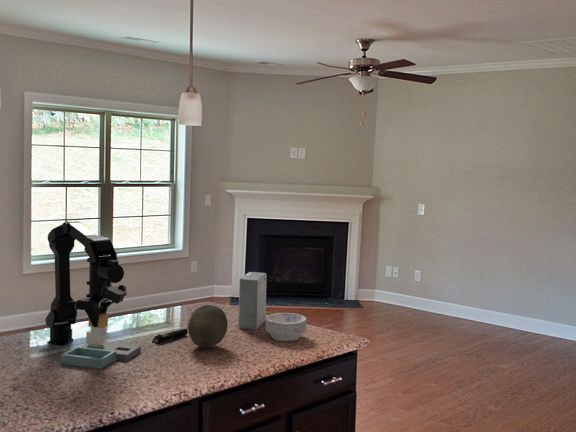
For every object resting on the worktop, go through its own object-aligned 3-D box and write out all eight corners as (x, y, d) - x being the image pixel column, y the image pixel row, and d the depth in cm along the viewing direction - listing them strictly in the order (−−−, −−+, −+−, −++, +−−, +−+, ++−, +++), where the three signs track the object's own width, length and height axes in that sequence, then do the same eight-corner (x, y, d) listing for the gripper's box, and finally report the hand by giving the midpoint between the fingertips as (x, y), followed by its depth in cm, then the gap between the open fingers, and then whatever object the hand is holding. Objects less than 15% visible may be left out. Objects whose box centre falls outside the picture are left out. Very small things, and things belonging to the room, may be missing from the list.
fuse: (86, 352, 207) (86, 331, 207) (90, 349, 210) (91, 329, 210) (99, 353, 206) (100, 333, 206) (104, 351, 209) (104, 330, 209)
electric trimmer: (190, 337, 231) (190, 329, 231) (158, 345, 219) (158, 336, 218) (182, 335, 233) (183, 327, 233) (151, 343, 221) (151, 334, 221)
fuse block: (76, 354, 204) (76, 348, 204) (92, 346, 214) (92, 340, 214) (126, 360, 200) (126, 354, 200) (140, 351, 210) (140, 346, 210)
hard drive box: (247, 318, 259) (249, 271, 257) (265, 320, 258) (267, 272, 256) (237, 328, 244) (239, 278, 242) (256, 330, 243) (258, 279, 241)
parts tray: (61, 364, 195) (61, 354, 195) (76, 355, 204) (77, 346, 203) (101, 369, 192) (102, 359, 192) (116, 360, 201) (116, 351, 200)
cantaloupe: (178, 347, 217) (179, 305, 215) (209, 339, 227) (211, 299, 226) (204, 357, 207) (205, 313, 206) (235, 349, 218) (237, 307, 216)
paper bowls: (258, 340, 230) (259, 319, 229) (274, 330, 244) (275, 310, 243) (297, 346, 224) (297, 324, 223) (311, 336, 238) (312, 315, 237)
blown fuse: (88, 335, 198) (88, 313, 197) (93, 333, 201) (93, 311, 200) (102, 337, 197) (103, 314, 197) (107, 334, 200) (107, 312, 199)
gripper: (108, 285, 187) (107, 336, 188) (135, 274, 205) (134, 320, 206) (74, 282, 189) (73, 332, 190) (103, 271, 207) (103, 317, 209)
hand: (97, 325), depth 199 cm, fingers closed on blown fuse, 3 cm apart
